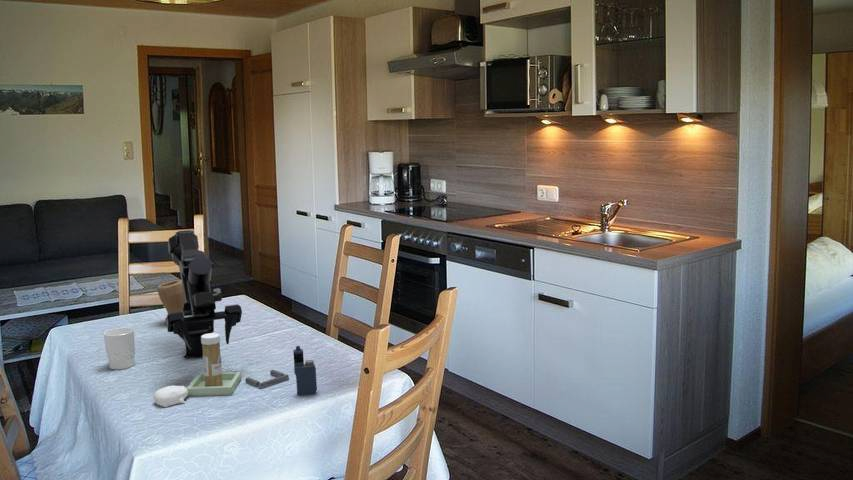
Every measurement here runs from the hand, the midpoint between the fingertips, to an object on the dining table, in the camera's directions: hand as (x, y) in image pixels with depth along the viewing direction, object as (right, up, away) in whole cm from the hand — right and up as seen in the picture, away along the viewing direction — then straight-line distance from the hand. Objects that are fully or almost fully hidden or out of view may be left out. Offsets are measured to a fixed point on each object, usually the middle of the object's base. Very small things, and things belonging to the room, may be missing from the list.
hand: (209, 346), depth 190 cm
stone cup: (-26, -1, +57) cm, 63 cm away
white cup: (-29, -8, +17) cm, 35 cm away
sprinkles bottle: (+2, -10, -2) cm, 10 cm away
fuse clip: (+14, -9, +2) cm, 17 cm away
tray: (+2, -10, -2) cm, 11 cm away
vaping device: (+26, -11, -8) cm, 29 cm away
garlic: (-6, -12, -11) cm, 17 cm away
